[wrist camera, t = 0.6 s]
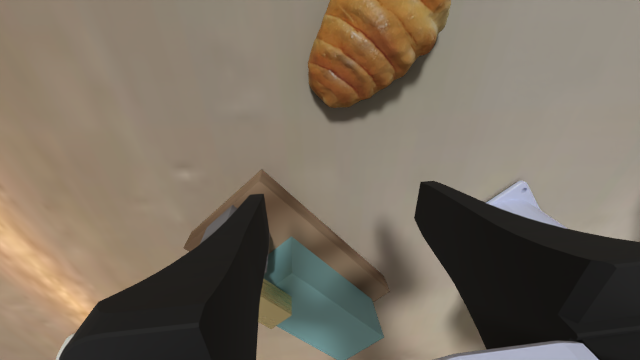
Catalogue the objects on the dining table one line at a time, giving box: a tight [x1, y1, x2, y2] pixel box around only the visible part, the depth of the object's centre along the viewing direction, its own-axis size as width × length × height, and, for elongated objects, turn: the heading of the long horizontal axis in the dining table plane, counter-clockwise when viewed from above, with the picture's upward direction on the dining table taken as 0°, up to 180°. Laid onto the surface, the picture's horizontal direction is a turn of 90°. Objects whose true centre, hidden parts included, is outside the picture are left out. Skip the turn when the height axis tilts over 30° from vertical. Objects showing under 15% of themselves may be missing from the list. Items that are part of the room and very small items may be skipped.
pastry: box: [308, 0, 451, 108], centre depth 16 cm, size 9×7×4 cm
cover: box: [264, 236, 384, 360], centre depth 24 cm, size 12×5×4 cm, turn 41°
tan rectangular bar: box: [258, 279, 292, 329], centre depth 18 cm, size 6×2×2 cm, turn 41°
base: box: [184, 170, 390, 302], centre depth 23 cm, size 18×9×6 cm, turn 41°
